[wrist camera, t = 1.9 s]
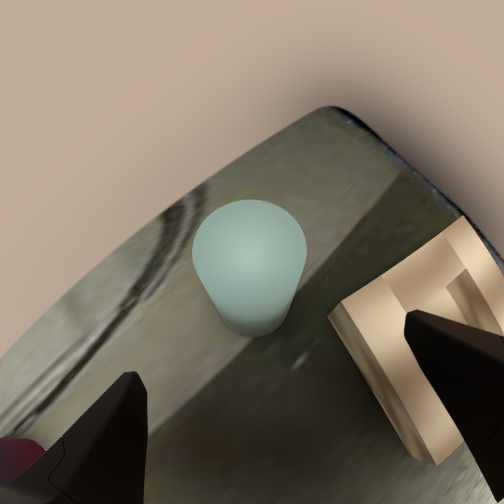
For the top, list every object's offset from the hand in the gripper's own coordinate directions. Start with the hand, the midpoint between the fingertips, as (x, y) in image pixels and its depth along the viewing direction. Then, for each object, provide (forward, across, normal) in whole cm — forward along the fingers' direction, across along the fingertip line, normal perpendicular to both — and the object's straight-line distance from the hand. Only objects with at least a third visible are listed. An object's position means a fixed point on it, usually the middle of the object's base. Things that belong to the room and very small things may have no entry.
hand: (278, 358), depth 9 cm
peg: (+12, 0, +5) cm, 13 cm away
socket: (+7, -13, +9) cm, 17 cm away
